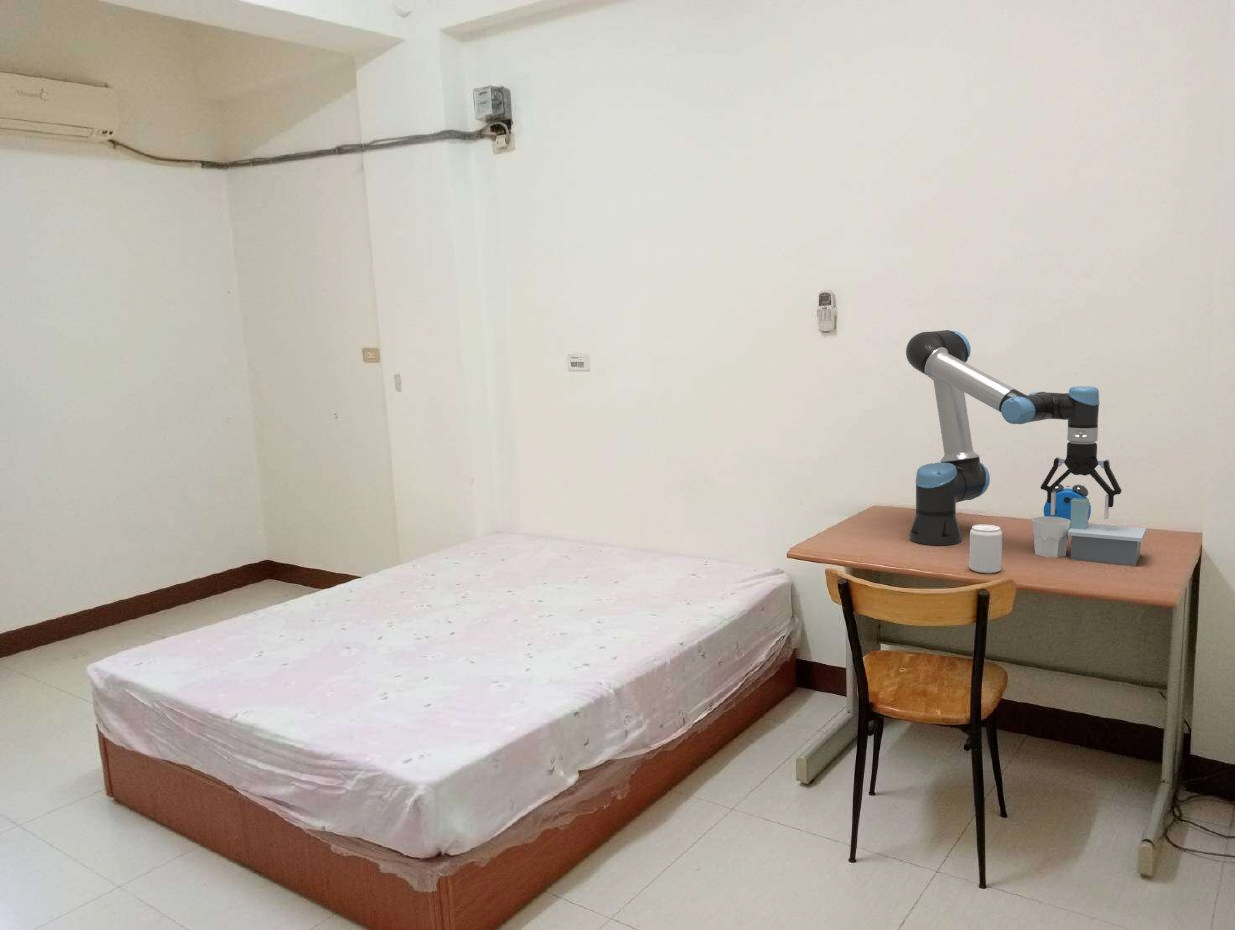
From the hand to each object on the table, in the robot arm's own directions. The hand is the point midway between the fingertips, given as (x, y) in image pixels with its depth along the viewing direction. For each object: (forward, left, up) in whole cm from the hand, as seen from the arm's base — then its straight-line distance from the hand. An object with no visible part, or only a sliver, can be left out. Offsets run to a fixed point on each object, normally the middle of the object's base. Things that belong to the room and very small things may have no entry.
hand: (1079, 516), depth 256 cm
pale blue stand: (+7, 0, -4) cm, 8 cm away
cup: (-7, -2, -12) cm, 14 cm away
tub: (+7, 0, -11) cm, 13 cm away
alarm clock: (-7, +29, -11) cm, 32 cm away
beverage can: (-19, -27, -11) cm, 35 cm away
